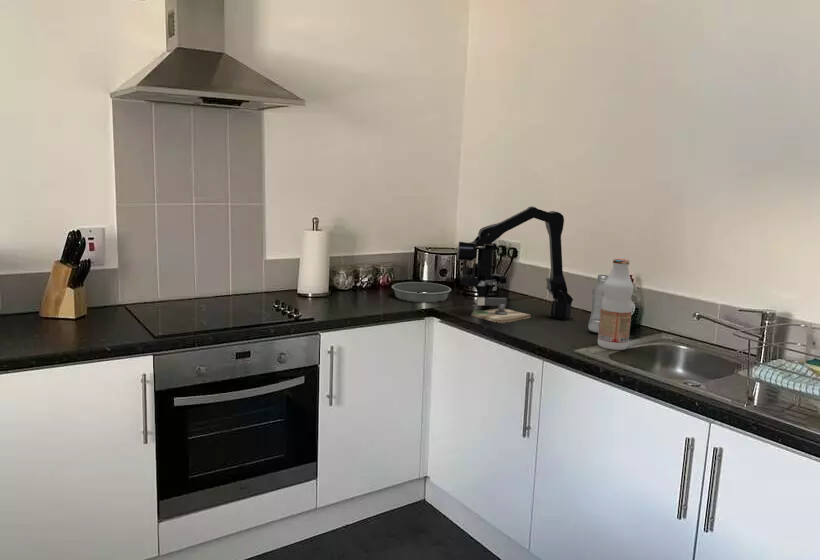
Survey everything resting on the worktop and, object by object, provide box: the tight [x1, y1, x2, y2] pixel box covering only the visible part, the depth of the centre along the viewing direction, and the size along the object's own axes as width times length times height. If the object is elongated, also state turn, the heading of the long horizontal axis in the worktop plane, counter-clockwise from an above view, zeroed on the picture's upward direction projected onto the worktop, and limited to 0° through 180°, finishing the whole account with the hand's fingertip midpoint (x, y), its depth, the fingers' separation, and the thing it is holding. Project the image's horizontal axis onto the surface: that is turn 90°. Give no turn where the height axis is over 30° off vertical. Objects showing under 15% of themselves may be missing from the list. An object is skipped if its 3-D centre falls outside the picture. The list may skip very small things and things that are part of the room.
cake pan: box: [391, 281, 452, 303], centre depth 283 cm, size 25×25×4 cm
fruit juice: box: [597, 258, 635, 351], centre depth 217 cm, size 9×9×28 cm
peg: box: [476, 296, 508, 311], centre depth 252 cm, size 11×2×4 cm, turn 94°
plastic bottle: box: [587, 274, 609, 334], centre depth 235 cm, size 6×7×20 cm
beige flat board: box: [470, 308, 531, 324], centre depth 254 cm, size 16×18×2 cm
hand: (482, 302), depth 255 cm, fingers closed
